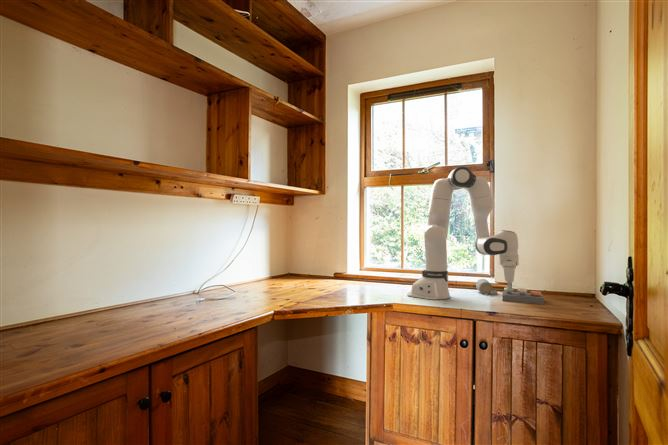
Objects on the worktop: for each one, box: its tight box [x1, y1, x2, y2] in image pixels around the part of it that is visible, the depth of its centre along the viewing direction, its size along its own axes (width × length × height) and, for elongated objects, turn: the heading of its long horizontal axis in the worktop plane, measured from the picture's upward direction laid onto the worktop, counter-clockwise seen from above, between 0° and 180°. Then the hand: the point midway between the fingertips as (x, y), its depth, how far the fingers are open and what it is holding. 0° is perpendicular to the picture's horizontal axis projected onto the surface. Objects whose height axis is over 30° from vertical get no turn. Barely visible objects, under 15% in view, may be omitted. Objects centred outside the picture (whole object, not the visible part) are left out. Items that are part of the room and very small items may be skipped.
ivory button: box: [516, 287, 528, 295], centre depth 175 cm, size 4×4×4 cm
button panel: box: [501, 290, 545, 305], centre depth 174 cm, size 18×12×3 cm, turn 63°
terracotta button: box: [530, 290, 542, 296], centre depth 172 cm, size 4×4×4 cm
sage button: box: [503, 286, 515, 294], centre depth 177 cm, size 4×4×4 cm
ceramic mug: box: [475, 278, 498, 295], centre depth 193 cm, size 11×8×8 cm
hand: (509, 288), depth 177 cm, fingers closed, pressing on sage button
